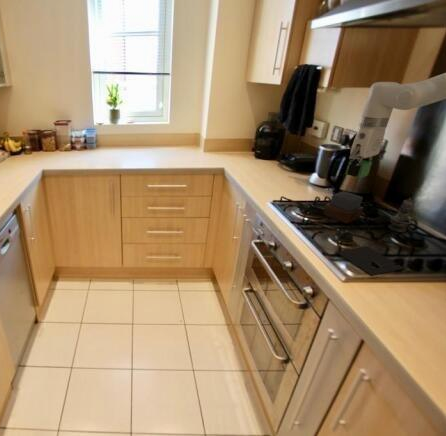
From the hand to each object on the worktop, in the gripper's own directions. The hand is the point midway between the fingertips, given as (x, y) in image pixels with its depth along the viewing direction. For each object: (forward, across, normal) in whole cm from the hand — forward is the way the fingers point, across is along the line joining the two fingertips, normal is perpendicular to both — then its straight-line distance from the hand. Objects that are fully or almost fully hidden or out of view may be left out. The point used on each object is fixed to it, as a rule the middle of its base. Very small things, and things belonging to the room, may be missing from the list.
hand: (356, 173), depth 113 cm
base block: (+17, 0, +1) cm, 17 cm away
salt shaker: (+18, +7, -15) cm, 24 cm away
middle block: (+13, 0, 0) cm, 13 cm away
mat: (+18, -22, -20) cm, 35 cm away
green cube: (0, 0, 0) cm, 0 cm away
